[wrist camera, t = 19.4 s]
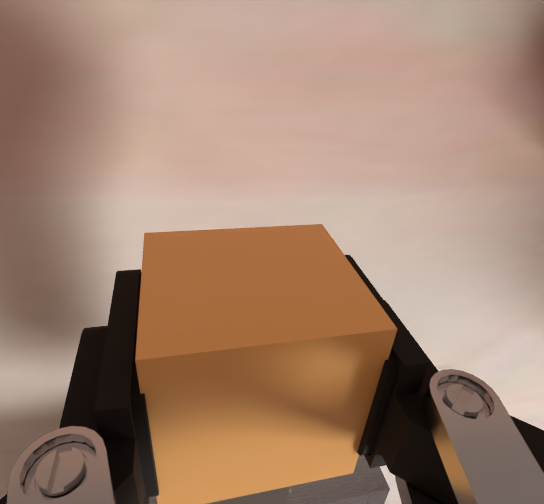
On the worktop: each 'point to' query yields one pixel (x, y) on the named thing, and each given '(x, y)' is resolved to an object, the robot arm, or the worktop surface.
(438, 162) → the worktop surface
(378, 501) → the housing
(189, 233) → the plug
